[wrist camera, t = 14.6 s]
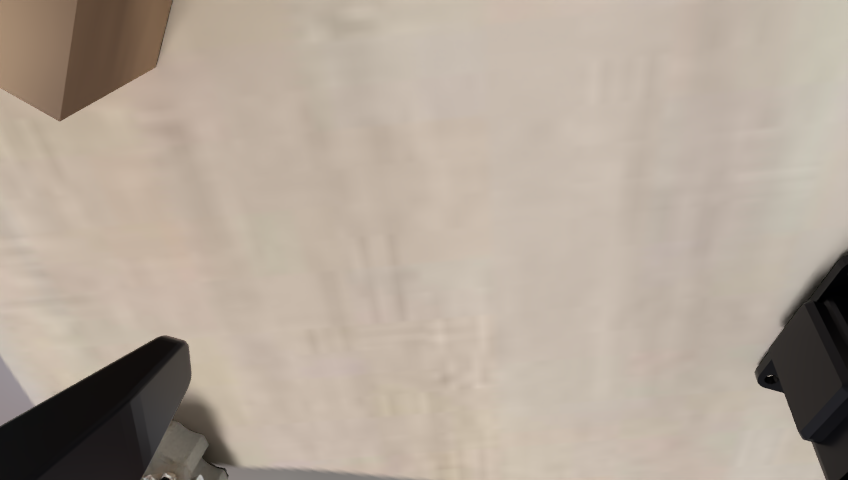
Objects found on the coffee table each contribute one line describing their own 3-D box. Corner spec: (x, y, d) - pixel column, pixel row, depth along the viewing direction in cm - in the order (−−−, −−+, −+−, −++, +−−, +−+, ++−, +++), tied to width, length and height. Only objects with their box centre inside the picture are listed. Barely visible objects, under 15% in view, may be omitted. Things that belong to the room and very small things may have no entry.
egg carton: (204, 417, 35) (165, 479, 31) (243, 494, 39) (212, 556, 35) (55, 404, 37) (4, 460, 34) (106, 477, 41) (65, 534, 38)
